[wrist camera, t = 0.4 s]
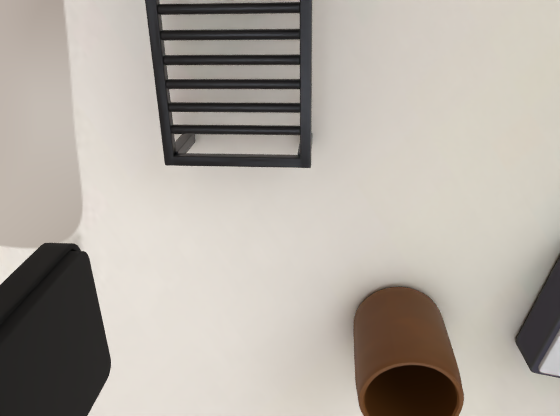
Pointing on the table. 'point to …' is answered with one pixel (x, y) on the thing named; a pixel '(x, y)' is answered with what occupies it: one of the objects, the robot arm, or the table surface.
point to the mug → (404, 357)
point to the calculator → (543, 329)
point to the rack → (232, 83)
